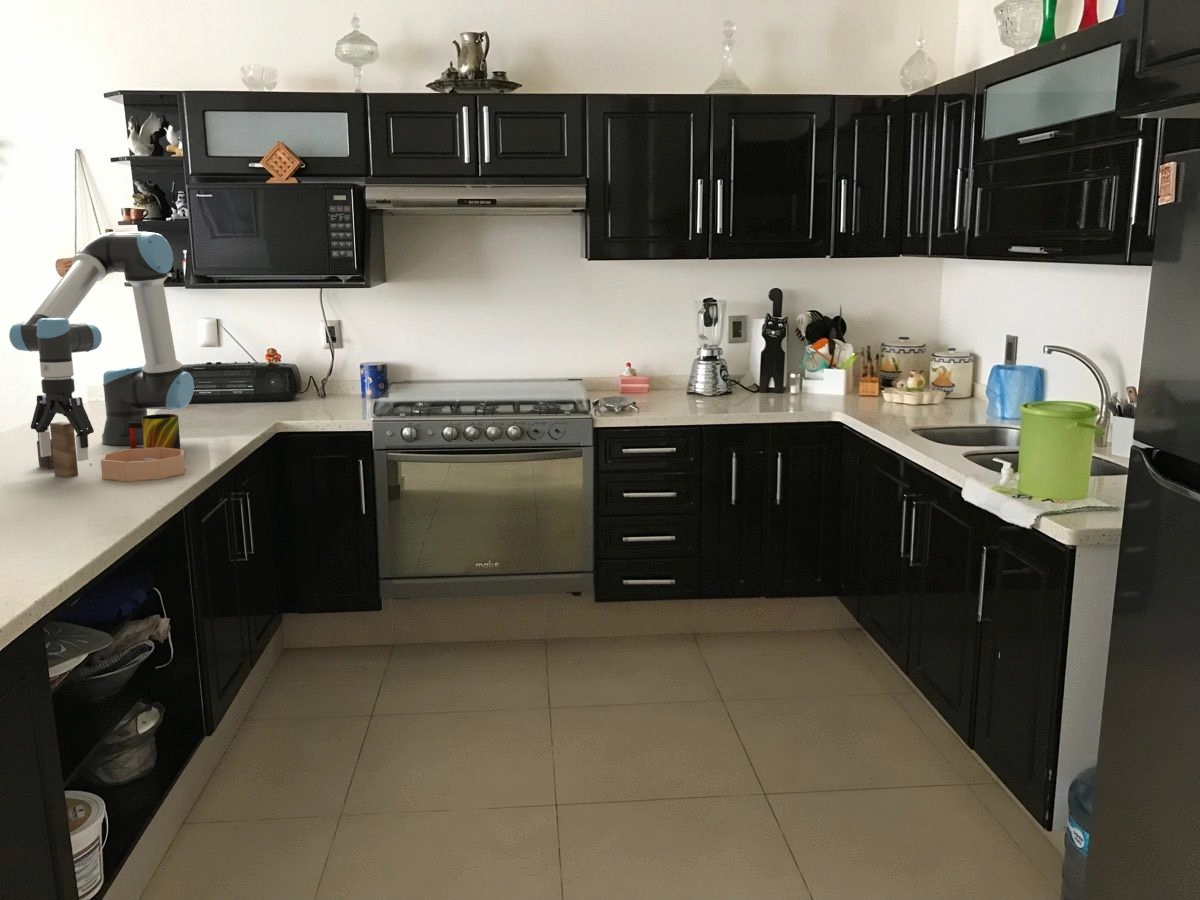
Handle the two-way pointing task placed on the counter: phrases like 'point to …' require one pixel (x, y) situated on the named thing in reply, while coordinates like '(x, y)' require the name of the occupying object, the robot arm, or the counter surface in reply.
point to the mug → (157, 431)
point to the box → (45, 458)
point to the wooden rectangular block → (64, 449)
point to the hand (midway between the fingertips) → (64, 458)
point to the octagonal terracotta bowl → (143, 464)
